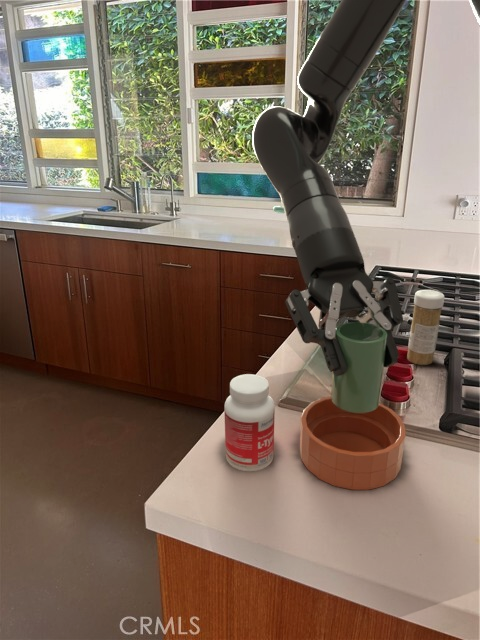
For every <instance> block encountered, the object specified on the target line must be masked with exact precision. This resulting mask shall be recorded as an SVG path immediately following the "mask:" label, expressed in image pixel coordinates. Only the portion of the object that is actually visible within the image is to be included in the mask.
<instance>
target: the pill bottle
mask: <svg viewBox="0 0 480 640" xmlns="http://www.w3.org/2000/svg"><path fill="white" fill-rule="evenodd" d="M269 393H270V383H269V381H268V379H266V378H265V377H264V376H261V375H259V374H252V373H246V374H245V373H244V374H240V375H237V376H235V377H233V378H232V379H231V380H230V382H229V396H227V397H226V400H225V402H224V409H223V411H224V437H225V438H224V443H225V446H224V447H225V459H226V461H227V463H228V464H229V465H230V466H231V467H233V468H234V469H236V470H239V471H243V472H258V471H261V470H263V469H265V468H267V467H268V466H270V465H271V463H272V462H273V460H274V456H275V455H274V454H275V408H276V407H275V406H276V405H275V402H274V399H273V398H272V397H271V395H270V394H269Z"/></svg>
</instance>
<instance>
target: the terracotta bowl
mask: <svg viewBox="0 0 480 640" xmlns="http://www.w3.org/2000/svg"><path fill="white" fill-rule="evenodd" d="M299 431H300V433H299V453H300V459H301V461H302V463H303V464H304V466H305V468H306V469H307V470H308V472H310V473H311V474H313V475H314V476H315V477H316V478H317V479H319V480H320V481H323V482H325V483H327V484H329V485H331V486H334V487H338V488H342V489H347V490H351V491H354V490H355V491H359V490H360V491H366V490H367V491H369V490H373V489H377V488H381V487H384V486H386V485H388V484H390V482H393V480H395V479H396V477H397V476H398V475H399V473H400V471H401V468H402V461H403V454H404V448H405V442H406V425H405V424H404V421H403V419H402V418H401V416H399V414H397V412H395V411H394V410H393V409H392V408H390V407H388V406H386V405H385V404H383V403H382V402H380V404H379V406H378V408H377V409H375V410H373V411H371V412H367V413H352V412H348V411H345V410H342V409H340V408H338V407H337V406H336V405H335V404H334V403H333V402H332V400H331V395H330V396H325V397H321V398H318V399H317V400H315V401H312V402H310V403H309V404H308V406H306V407H305V408H304V409H303V411H302V414H301V417H300V430H299Z"/></svg>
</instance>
